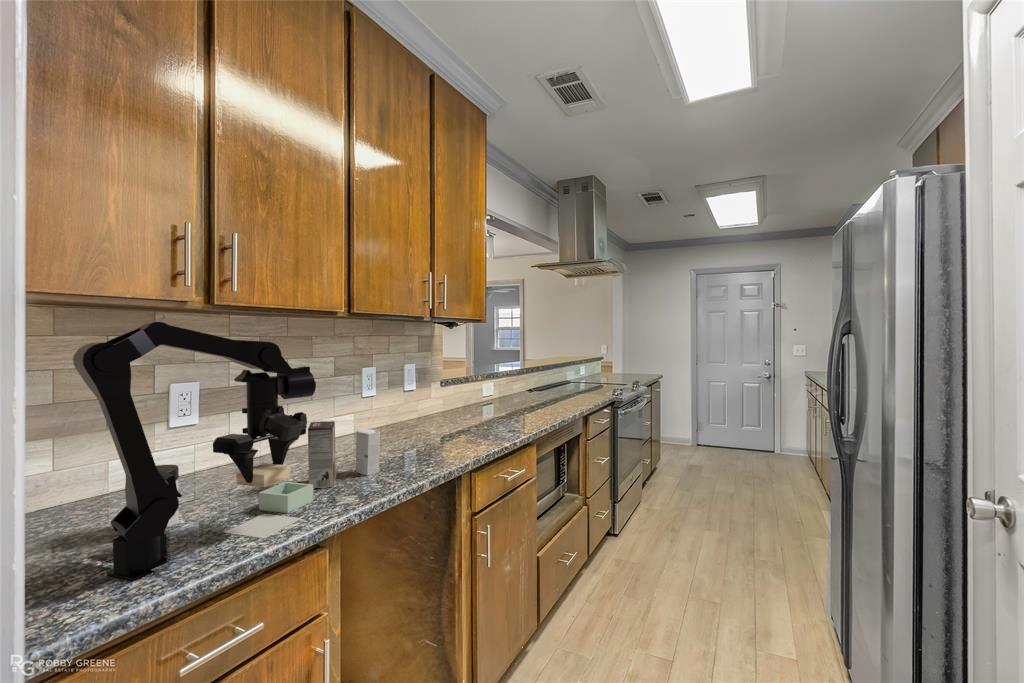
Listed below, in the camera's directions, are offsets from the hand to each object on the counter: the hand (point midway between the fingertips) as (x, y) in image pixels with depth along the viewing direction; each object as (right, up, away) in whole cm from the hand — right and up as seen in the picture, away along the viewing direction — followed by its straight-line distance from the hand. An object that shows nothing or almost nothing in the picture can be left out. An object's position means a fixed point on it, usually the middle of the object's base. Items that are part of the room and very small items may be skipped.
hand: (264, 477), depth 96 cm
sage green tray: (-1, -10, +11) cm, 15 cm away
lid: (0, -1, 0) cm, 1 cm away
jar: (-24, -11, +1) cm, 26 cm away
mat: (0, -11, 0) cm, 11 cm away
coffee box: (0, -10, +29) cm, 30 cm away
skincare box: (+10, -10, +38) cm, 41 cm away
